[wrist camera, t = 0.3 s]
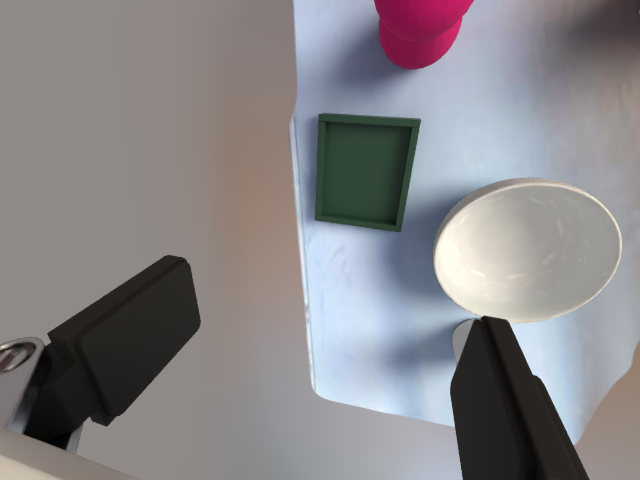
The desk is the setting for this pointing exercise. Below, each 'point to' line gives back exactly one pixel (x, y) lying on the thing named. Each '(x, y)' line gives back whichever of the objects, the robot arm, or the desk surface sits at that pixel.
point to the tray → (364, 169)
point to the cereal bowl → (526, 250)
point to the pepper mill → (419, 29)
